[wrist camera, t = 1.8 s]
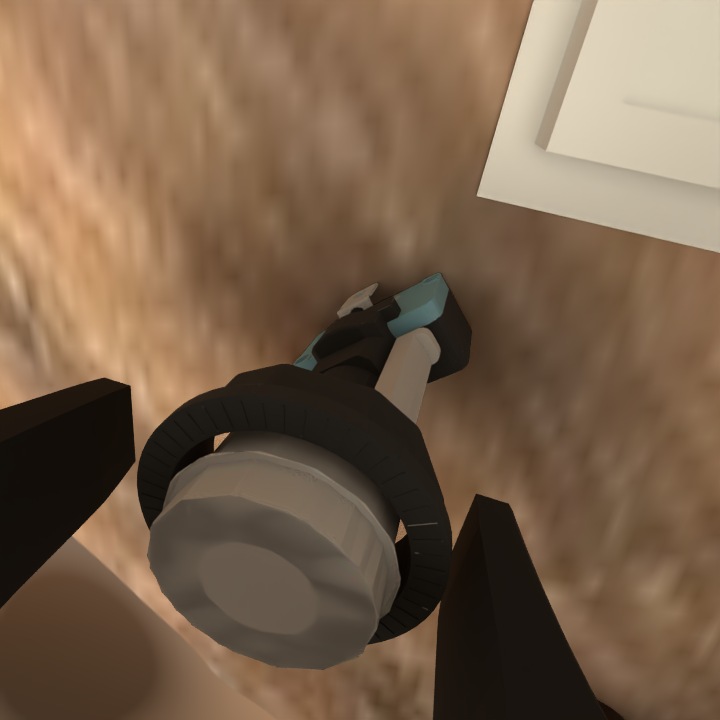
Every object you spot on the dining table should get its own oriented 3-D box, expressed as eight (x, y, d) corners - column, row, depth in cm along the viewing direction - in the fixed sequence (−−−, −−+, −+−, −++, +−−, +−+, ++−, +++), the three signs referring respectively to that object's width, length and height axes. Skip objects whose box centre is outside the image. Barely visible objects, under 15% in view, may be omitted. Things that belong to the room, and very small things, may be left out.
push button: (333, 428, 18) (184, 718, 9) (252, 308, 16) (-14, 520, 8) (502, 362, 15) (513, 692, 6) (422, 210, 14) (299, 375, 5)
